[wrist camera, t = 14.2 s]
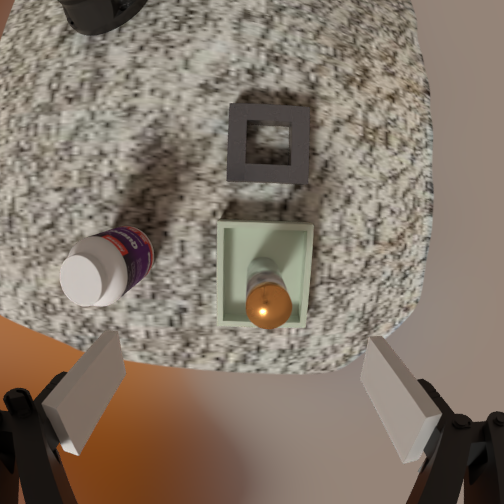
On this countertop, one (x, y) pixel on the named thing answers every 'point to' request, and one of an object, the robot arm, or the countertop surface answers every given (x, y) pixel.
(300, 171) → the socket block
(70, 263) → the pill bottle
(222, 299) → the tray
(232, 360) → the countertop surface
